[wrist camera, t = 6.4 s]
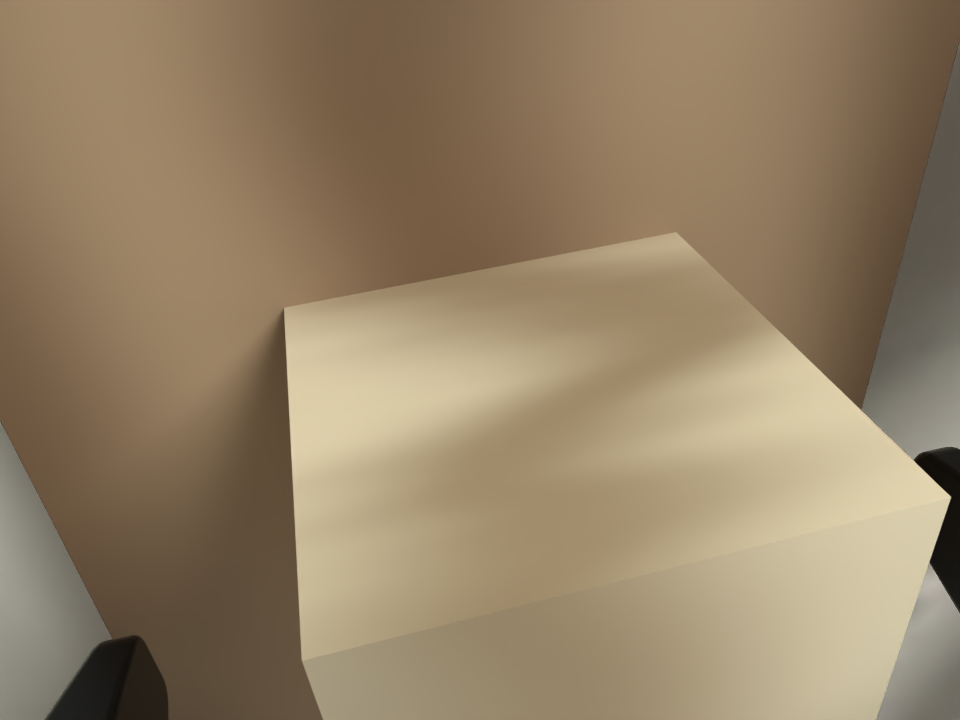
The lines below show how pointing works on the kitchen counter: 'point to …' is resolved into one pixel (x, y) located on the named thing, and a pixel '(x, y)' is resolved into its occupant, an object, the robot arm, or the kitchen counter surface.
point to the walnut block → (390, 236)
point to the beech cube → (591, 502)
